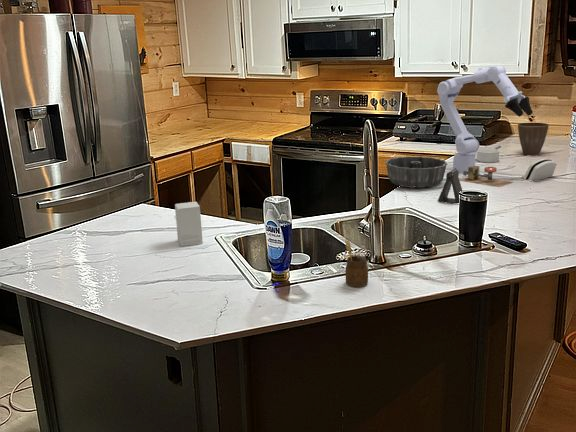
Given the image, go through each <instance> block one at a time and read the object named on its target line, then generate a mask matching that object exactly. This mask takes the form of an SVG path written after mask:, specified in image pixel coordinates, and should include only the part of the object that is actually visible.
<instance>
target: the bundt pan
mask: <svg viewBox="0 0 576 432" xmlns="http://www.w3.org/2000/svg"><path fill="white" fill-rule="evenodd" d="M385 165H386V170H387V178H388V179H389V181H390V182H391V183H393V184H394V185H395V186H397V187H403V188H408V187H410V188H411V189H413V188H415V187H416V188H418V189H421V188H426V189H427V188H430V187H435V186H437V185H438V184H440V183H441V182H443V180H444V178H445V173H446V168H447V166H448V163H447V161H446V160H443V159H441V158H436V157H432V156H431V157H430V156H420V155H419V156H409V155H408V156H397V157H392V158H389V159H388V160H385Z"/></svg>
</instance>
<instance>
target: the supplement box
mask: <svg viewBox="0 0 576 432" xmlns="http://www.w3.org/2000/svg"><path fill="white" fill-rule="evenodd" d="M174 210H175V222H176V232H177V233H176V234H177V241H178V244H179V245H180V247H188V246H195V245H202V244H203V243H204V242H203V233H202V232H203V229H202V217H201V215H202V214H201V206H200V204H199V203H198V202H197V201H188V202H180V203H175V204H174Z"/></svg>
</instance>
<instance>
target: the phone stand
mask: <svg viewBox="0 0 576 432" xmlns="http://www.w3.org/2000/svg"><path fill="white" fill-rule="evenodd" d="M459 175H460V172H458V170H455V171H454V170H453V169H452V170H450V171H448V172H447V173H446V175H445V182H444V185H443V186H442V189H441V191H440V194H439V197H438V199H437V202H438V201H439V202H438V203H445V202H447V204H453V203H459V192H460V191H463V187H462V184H461V181H459V180H460V178H459ZM451 187H452V191H453V196H454V198H453V197H449V194H450V190H451Z"/></svg>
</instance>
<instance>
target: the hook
mask: <svg viewBox="0 0 576 432" xmlns="http://www.w3.org/2000/svg"><path fill="white" fill-rule="evenodd" d="M497 168H498V167H495V166H486V167H484V172H486V173H482V172H481V173H480V172H479V173H474V176H479V177H484V178H488V180H492V179H493V173H496V172H497V170H498V169H497ZM462 175H463V176H468V171H463V173H462Z"/></svg>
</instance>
